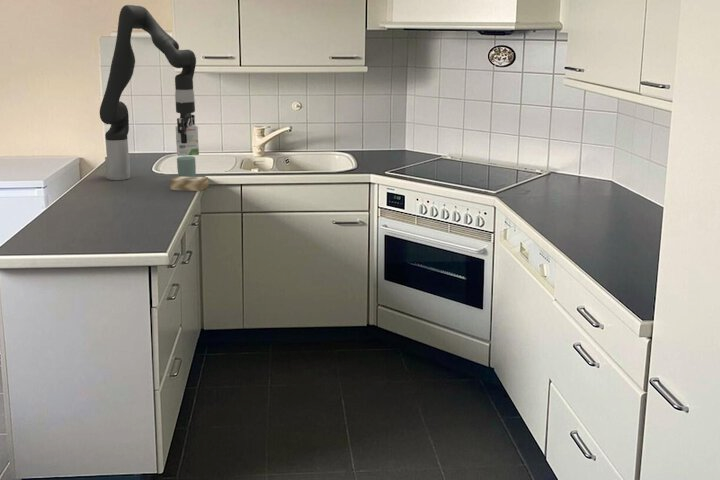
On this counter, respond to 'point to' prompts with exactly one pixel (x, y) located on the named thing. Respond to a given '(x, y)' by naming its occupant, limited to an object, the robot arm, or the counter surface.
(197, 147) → the ink box
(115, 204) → the counter surface
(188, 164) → the cup
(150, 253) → the counter surface
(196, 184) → the plinth
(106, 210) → the counter surface
